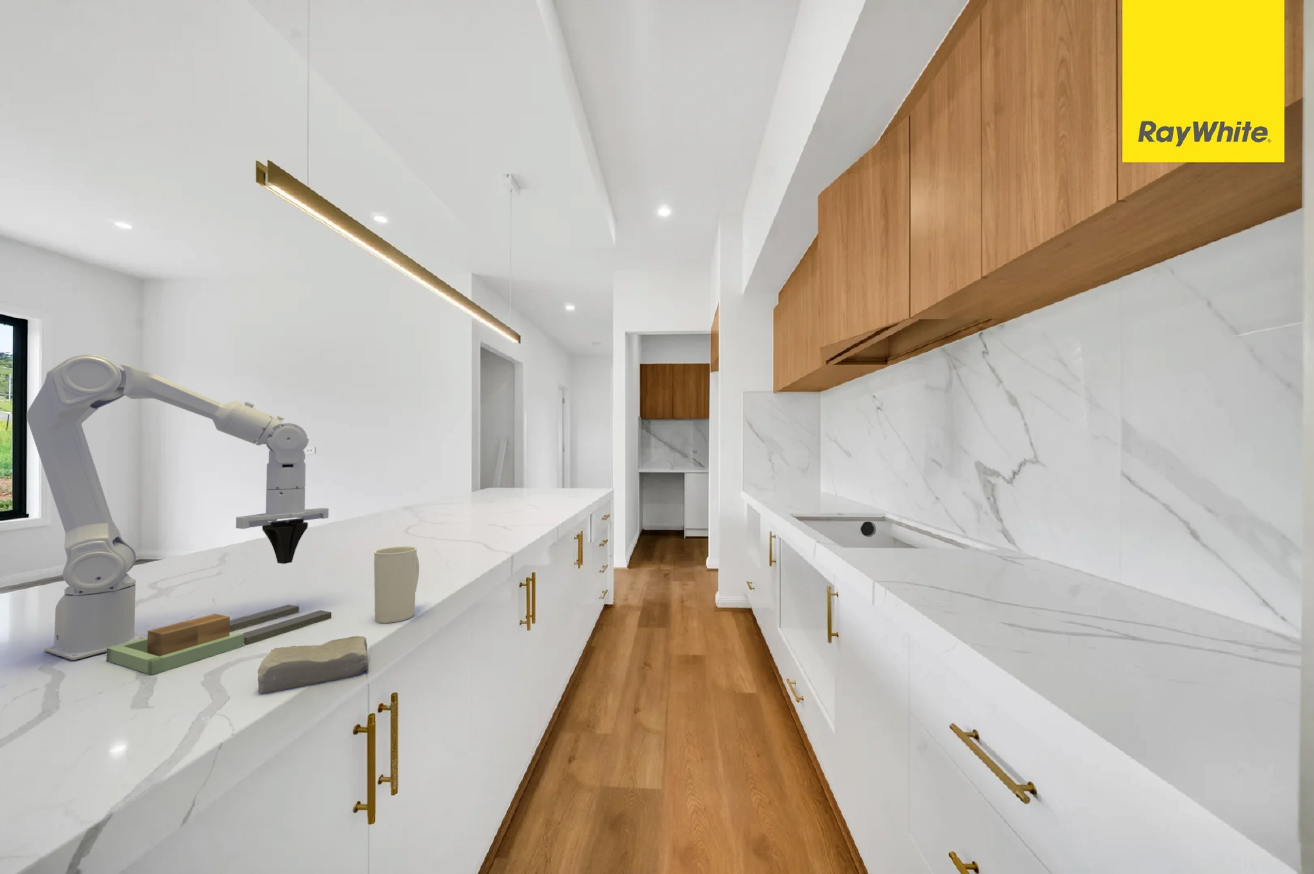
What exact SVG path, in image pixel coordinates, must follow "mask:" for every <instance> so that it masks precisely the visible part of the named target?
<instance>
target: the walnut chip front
mask: <svg viewBox="0 0 1314 874" xmlns="http://www.w3.org/2000/svg"><path fill="white" fill-rule="evenodd" d="M147 637H148V642H147V652H146V653H149V654H152V655H156V656H163V655H166V654H169V653H173V652H176V651H180V650H183V649H186V648H190V647H193V646H197V645H198V625H195V624H191V623H186V622H185V621H182V622H177V623H172V624H170V625H165V626H160V627H157V628H153V629H149V630H147Z"/></svg>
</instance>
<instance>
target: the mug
mask: <svg viewBox="0 0 1314 874" xmlns="http://www.w3.org/2000/svg"><path fill="white" fill-rule="evenodd" d="M373 553H374V558H373V559H374V561H373V568H374V569H373V571H374V573H373V574H374V620H375V622H376V623H380V624H390V623H399V622H402V621H406V620H408V619H410V618H412V617H414V616H415V613H416V612H415V609H416V607H415V606H416V605H415V604H416V592H417V587H418V582H419V575H420V561H419V557H418V555H417V547H416V546H410V545H409V546H408V545H407V546H404V545H403V546H392V547H386V548H380V549H377V550H374V552H373Z"/></svg>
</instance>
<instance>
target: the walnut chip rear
mask: <svg viewBox="0 0 1314 874" xmlns="http://www.w3.org/2000/svg"><path fill="white" fill-rule="evenodd" d="M230 620H231V618H230V616H227V615H225V614H224V615H223V614H217V613H212V614H208V615H205V616H201V617H198V618H193V619H190V620H189V619H188V620H185V621H184V622H186V623H191V624H195V625H198V645H200V644H203V643H207V642H210V641H213V640H217V639H220V638H224V637H227V636H230V634H231V633H230Z"/></svg>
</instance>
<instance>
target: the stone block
mask: <svg viewBox="0 0 1314 874" xmlns="http://www.w3.org/2000/svg"><path fill="white" fill-rule="evenodd" d="M368 669H369V662H368V643H367V638H366V637H365V636H360V635H357V636H356V635H354V636H353V635H352V636H349V637H343V638H336V639H332V640H330V641H326V642H325V643H322V644H319V645H291V646H286V647H284V646H282V647H274V649H270V652H269V653H268V654H267V655H266V656H265V657H264V658H263V660H262V661H261V662H260V665H259V667H258V669H257V675H258V676H257V684H258V685H257V687H258V693H259V694H260V695H266V694H272V693H273V694H274V693H277V692H283V691H287V690H293V689H298V688H303V687H308V686H312V685H313V686H314V685H318V684H324V683H327V682H333V681H338V680H343V679H348V678H353V677H354V676H358V675H361V674H364V673H366V672H367V670H368Z"/></svg>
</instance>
